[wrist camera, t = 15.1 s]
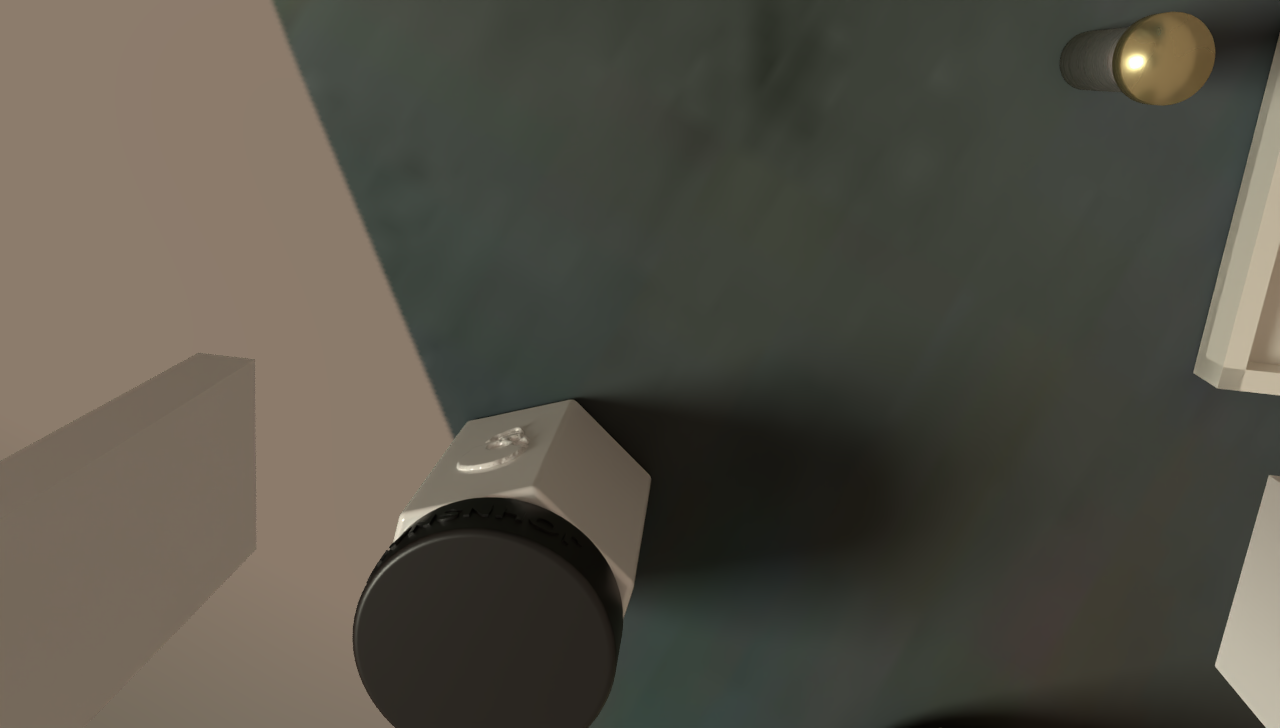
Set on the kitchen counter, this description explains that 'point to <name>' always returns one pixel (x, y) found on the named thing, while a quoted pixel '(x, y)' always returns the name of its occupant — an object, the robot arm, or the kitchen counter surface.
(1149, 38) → the stake
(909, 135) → the kitchen counter surface
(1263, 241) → the tray
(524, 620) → the jar
